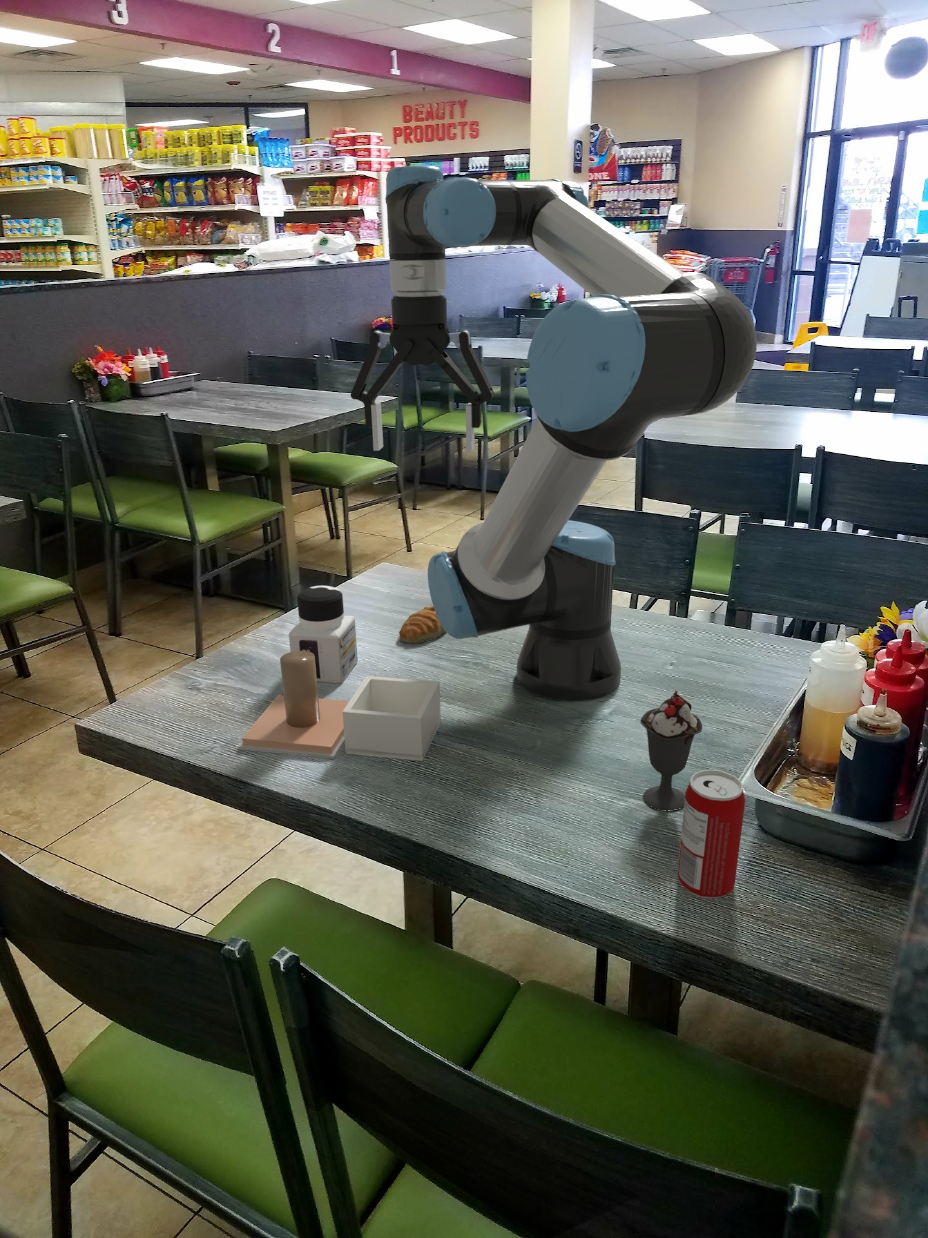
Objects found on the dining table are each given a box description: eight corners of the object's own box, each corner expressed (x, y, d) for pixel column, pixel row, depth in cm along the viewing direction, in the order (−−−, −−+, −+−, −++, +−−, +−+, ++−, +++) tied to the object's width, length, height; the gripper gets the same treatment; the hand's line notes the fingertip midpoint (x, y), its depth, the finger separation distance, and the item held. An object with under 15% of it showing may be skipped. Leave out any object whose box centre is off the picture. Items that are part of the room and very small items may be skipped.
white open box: (440, 721, 121) (439, 681, 119) (422, 761, 112) (420, 718, 110) (369, 715, 123) (366, 675, 121) (345, 753, 114) (342, 711, 112)
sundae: (657, 822, 100) (667, 702, 94) (624, 791, 105) (631, 676, 99) (706, 807, 102) (719, 690, 96) (671, 778, 108) (681, 665, 102)
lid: (361, 708, 124) (356, 642, 120) (332, 753, 113) (325, 682, 109) (279, 701, 126) (271, 636, 122) (242, 745, 115) (233, 675, 112)
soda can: (742, 879, 91) (756, 777, 86) (720, 909, 87) (733, 804, 82) (691, 858, 94) (701, 759, 89) (667, 886, 90) (677, 784, 85)
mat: (365, 709, 125) (365, 706, 124) (334, 759, 113) (334, 756, 113) (277, 701, 127) (276, 699, 127) (237, 749, 115) (237, 746, 115)
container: (342, 684, 132) (335, 602, 127) (292, 680, 133) (284, 598, 128) (358, 661, 139) (353, 582, 133) (310, 658, 140) (303, 579, 135)
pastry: (423, 650, 143) (422, 628, 141) (388, 642, 146) (387, 620, 144) (454, 629, 150) (453, 608, 149) (420, 621, 153) (419, 601, 152)
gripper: (321, 296, 121) (333, 453, 129) (506, 294, 117) (506, 457, 125) (338, 292, 128) (348, 442, 136) (513, 291, 124) (512, 445, 132)
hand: (424, 449), depth 131 cm, fingers open, 13 cm apart
